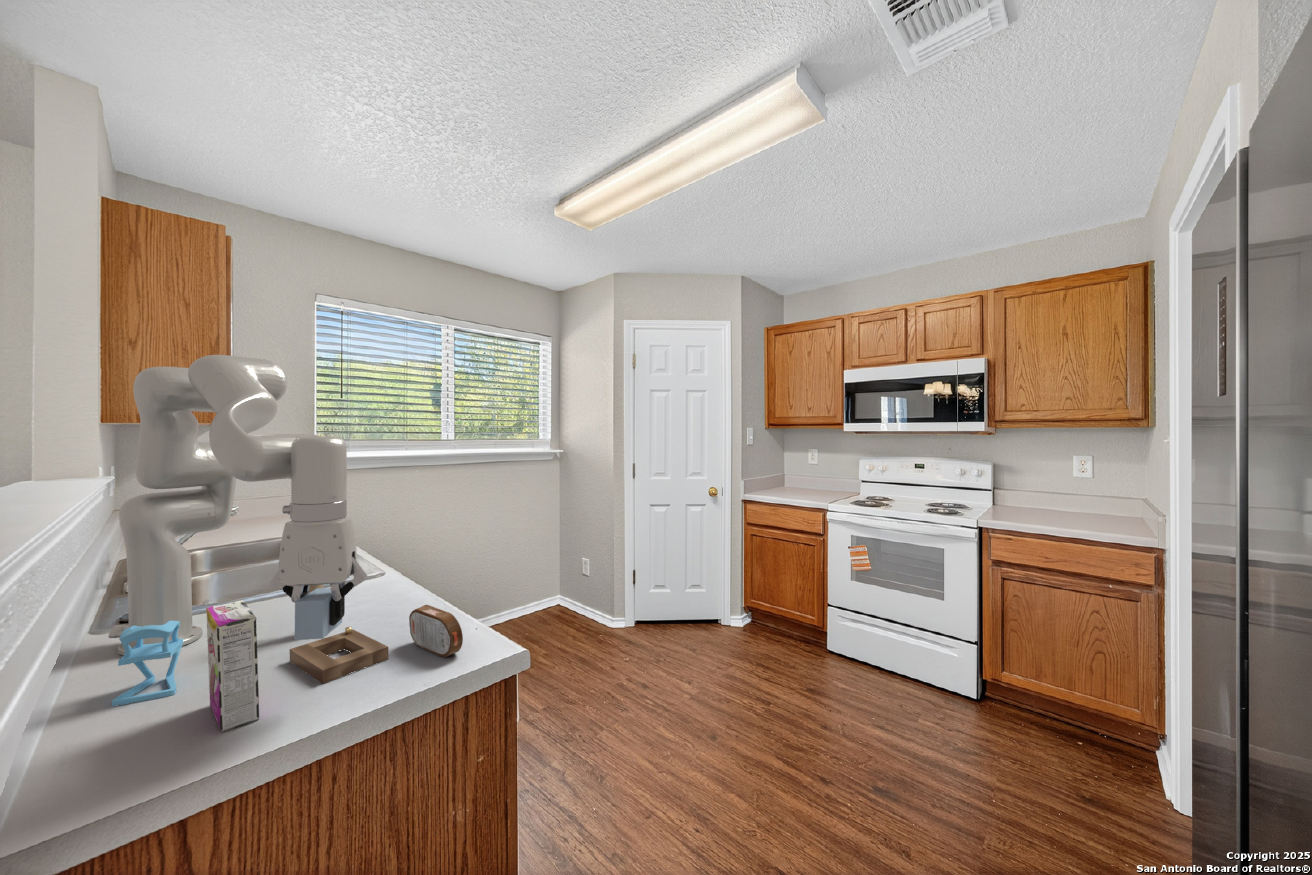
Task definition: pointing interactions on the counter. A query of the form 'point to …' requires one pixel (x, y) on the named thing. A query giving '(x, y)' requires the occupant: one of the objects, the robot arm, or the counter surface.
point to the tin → (435, 630)
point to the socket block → (327, 668)
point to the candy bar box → (232, 664)
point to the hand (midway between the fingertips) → (320, 621)
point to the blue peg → (314, 615)
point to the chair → (149, 658)
